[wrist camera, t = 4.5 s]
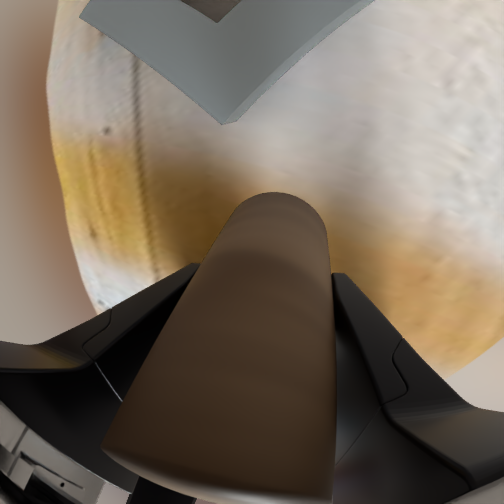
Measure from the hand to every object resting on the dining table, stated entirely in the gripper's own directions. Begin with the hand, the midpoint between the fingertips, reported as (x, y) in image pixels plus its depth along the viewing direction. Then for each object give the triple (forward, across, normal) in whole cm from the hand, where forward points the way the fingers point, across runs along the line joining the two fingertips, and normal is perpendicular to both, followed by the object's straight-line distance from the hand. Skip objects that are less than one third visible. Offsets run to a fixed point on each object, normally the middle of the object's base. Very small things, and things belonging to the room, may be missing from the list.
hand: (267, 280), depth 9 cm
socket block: (+12, +4, -15) cm, 19 cm away
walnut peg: (+2, 0, 0) cm, 2 cm away
